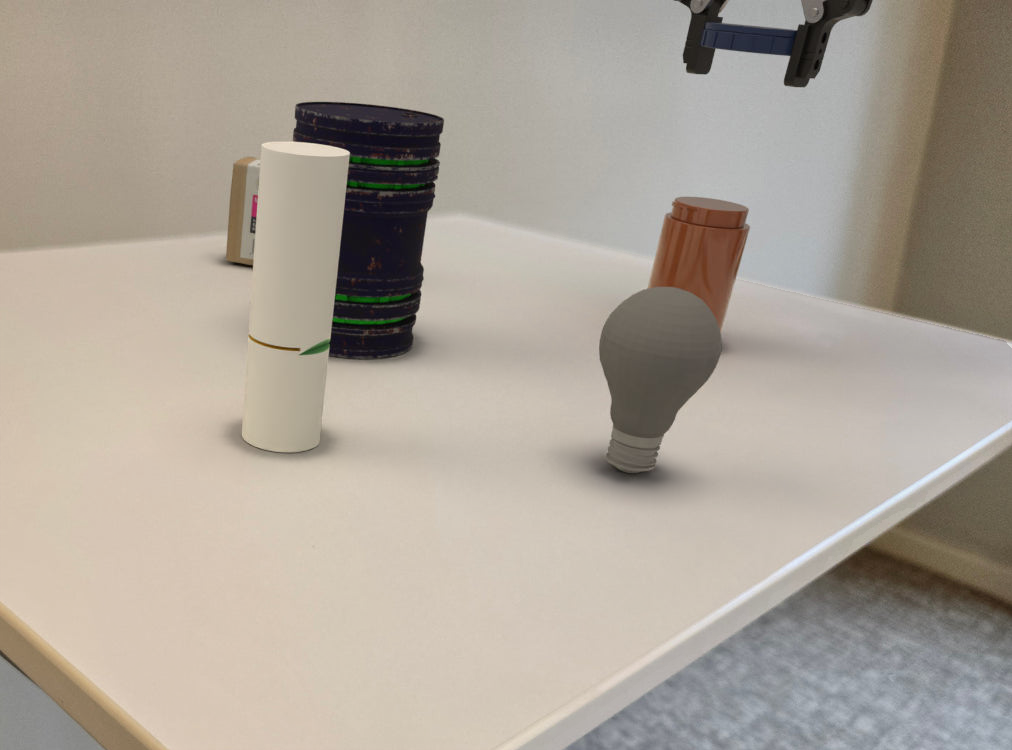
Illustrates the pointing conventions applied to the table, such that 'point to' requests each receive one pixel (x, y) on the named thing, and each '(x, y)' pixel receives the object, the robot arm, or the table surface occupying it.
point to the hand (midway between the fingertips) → (744, 79)
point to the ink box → (243, 211)
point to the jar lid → (748, 38)
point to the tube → (293, 293)
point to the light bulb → (654, 368)
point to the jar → (702, 250)
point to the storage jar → (378, 219)
